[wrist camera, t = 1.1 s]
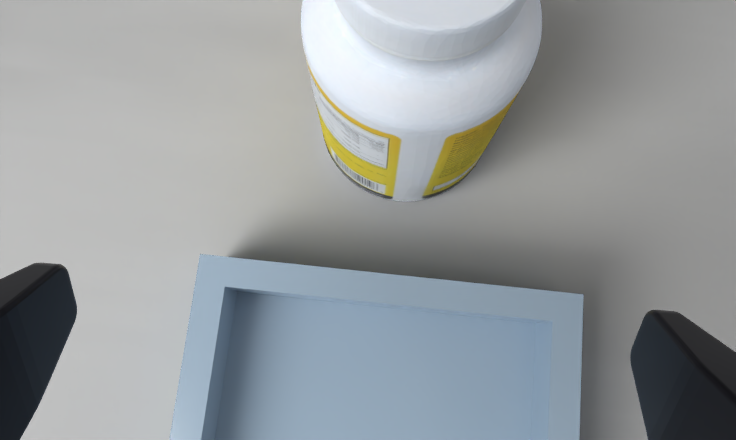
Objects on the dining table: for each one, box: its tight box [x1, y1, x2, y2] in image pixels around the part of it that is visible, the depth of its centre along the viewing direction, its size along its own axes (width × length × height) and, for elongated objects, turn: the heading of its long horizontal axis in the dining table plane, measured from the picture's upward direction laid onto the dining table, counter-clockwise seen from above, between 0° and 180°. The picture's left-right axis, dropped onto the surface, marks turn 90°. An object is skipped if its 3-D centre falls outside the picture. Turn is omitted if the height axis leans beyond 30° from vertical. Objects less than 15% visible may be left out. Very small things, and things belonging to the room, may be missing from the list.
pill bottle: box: [301, 0, 542, 202], centre depth 18 cm, size 6×6×12 cm
